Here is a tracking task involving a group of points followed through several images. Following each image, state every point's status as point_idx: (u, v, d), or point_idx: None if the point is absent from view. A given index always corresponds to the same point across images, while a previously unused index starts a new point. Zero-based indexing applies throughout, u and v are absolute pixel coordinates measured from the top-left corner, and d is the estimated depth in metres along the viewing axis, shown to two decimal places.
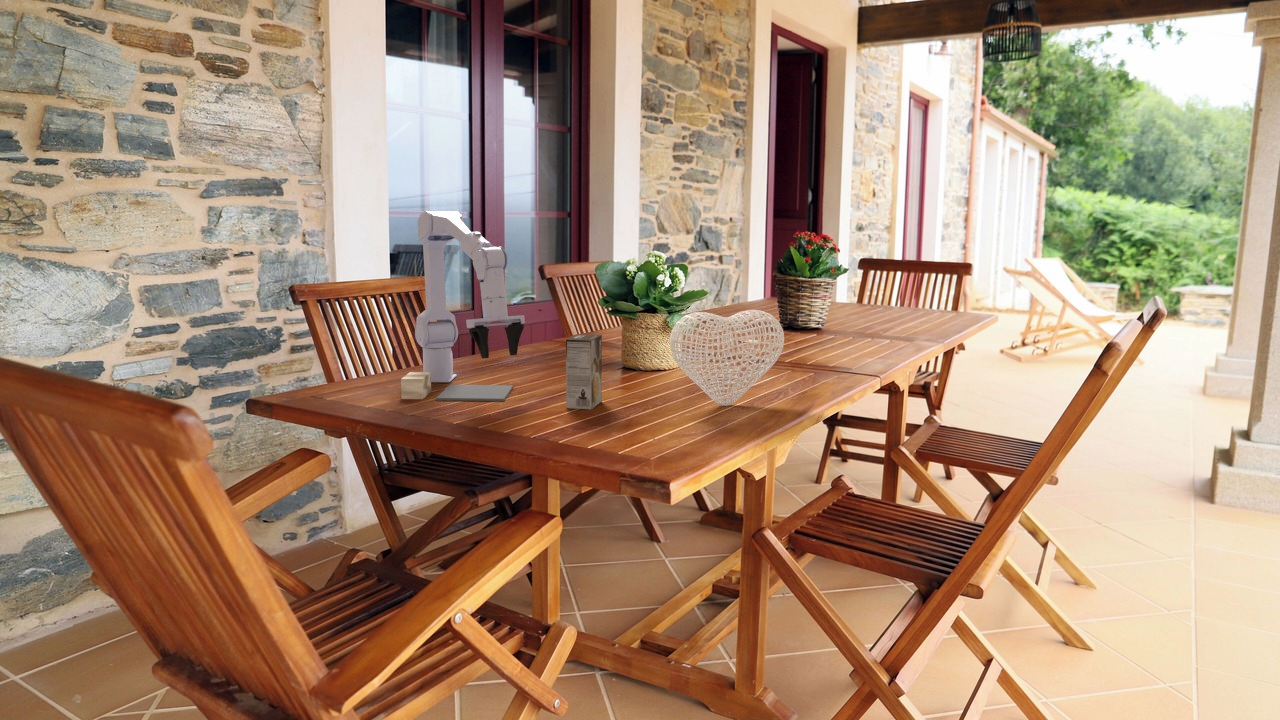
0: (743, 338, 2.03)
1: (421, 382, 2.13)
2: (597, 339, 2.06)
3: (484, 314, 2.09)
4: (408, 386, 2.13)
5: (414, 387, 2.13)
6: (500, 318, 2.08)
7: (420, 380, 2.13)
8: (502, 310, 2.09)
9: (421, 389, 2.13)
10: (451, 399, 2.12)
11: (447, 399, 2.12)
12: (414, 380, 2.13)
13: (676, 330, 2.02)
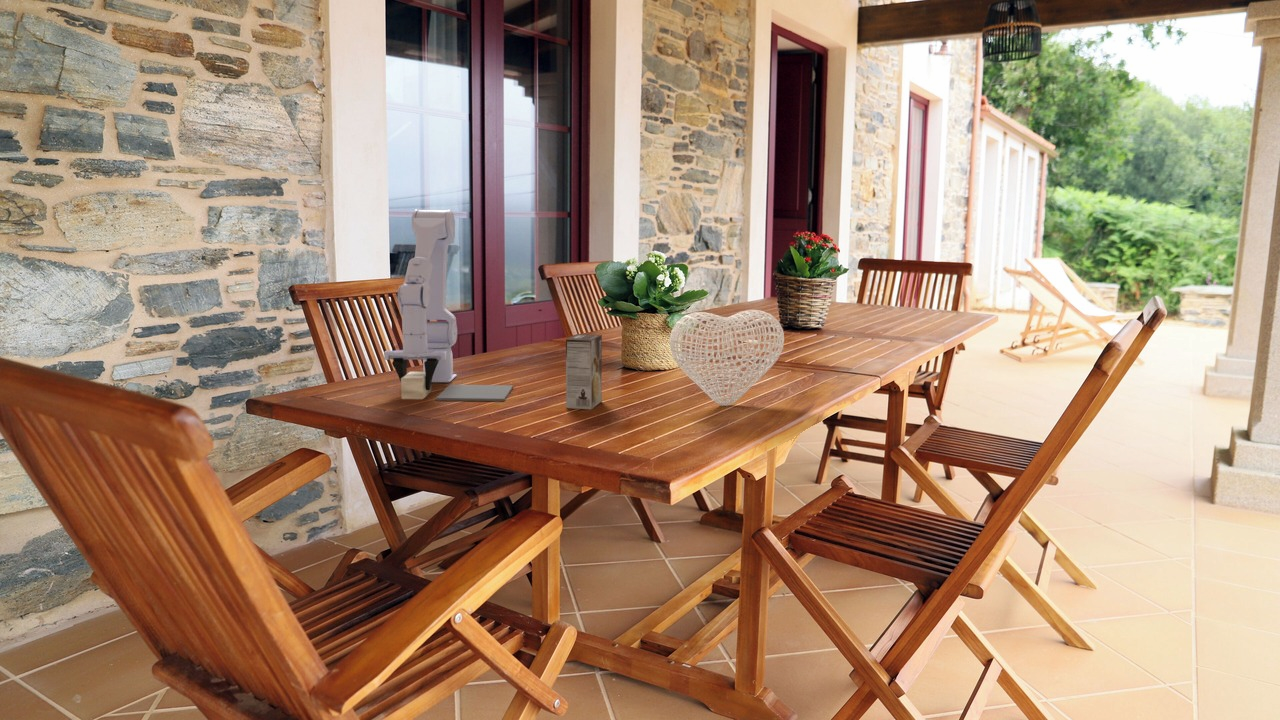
0: (743, 338, 2.03)
1: (421, 381, 2.13)
2: (597, 339, 2.06)
3: None
4: (408, 385, 2.13)
5: (414, 386, 2.13)
6: (407, 355, 2.13)
7: (420, 379, 2.13)
8: (414, 347, 2.13)
9: (421, 388, 2.13)
10: (451, 399, 2.12)
11: (447, 399, 2.12)
12: (414, 379, 2.13)
13: (676, 330, 2.02)
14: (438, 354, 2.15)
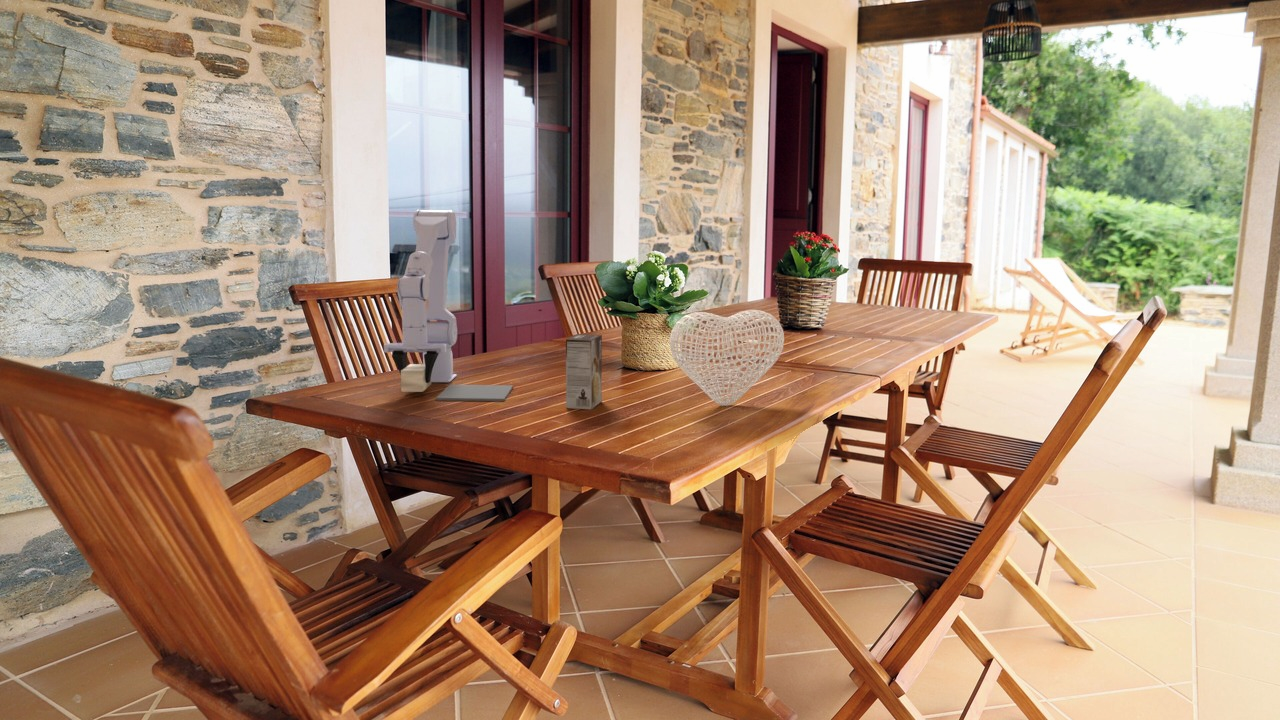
0: (743, 338, 2.03)
1: (421, 374, 2.13)
2: (597, 339, 2.06)
3: None
4: (408, 378, 2.13)
5: (414, 379, 2.13)
6: (407, 348, 2.13)
7: (420, 372, 2.13)
8: (413, 340, 2.13)
9: (421, 381, 2.13)
10: (451, 399, 2.12)
11: (447, 399, 2.12)
12: (414, 372, 2.13)
13: (676, 330, 2.02)
14: (438, 347, 2.15)
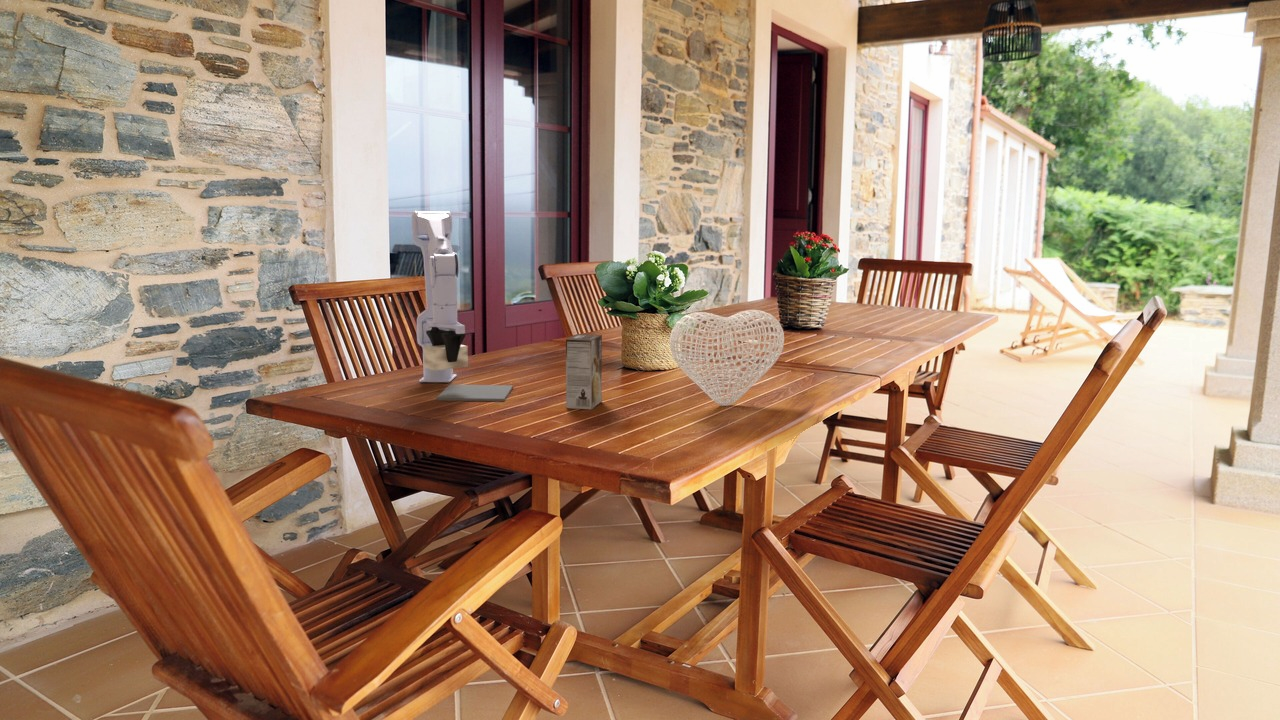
0: (743, 338, 2.03)
1: (434, 352, 2.13)
2: (597, 339, 2.06)
3: None
4: (427, 355, 2.15)
5: (430, 357, 2.14)
6: None
7: (433, 350, 2.13)
8: (435, 317, 2.14)
9: (434, 359, 2.13)
10: (451, 399, 2.12)
11: (447, 399, 2.12)
12: (430, 350, 2.14)
13: (676, 330, 2.02)
14: (453, 327, 2.11)
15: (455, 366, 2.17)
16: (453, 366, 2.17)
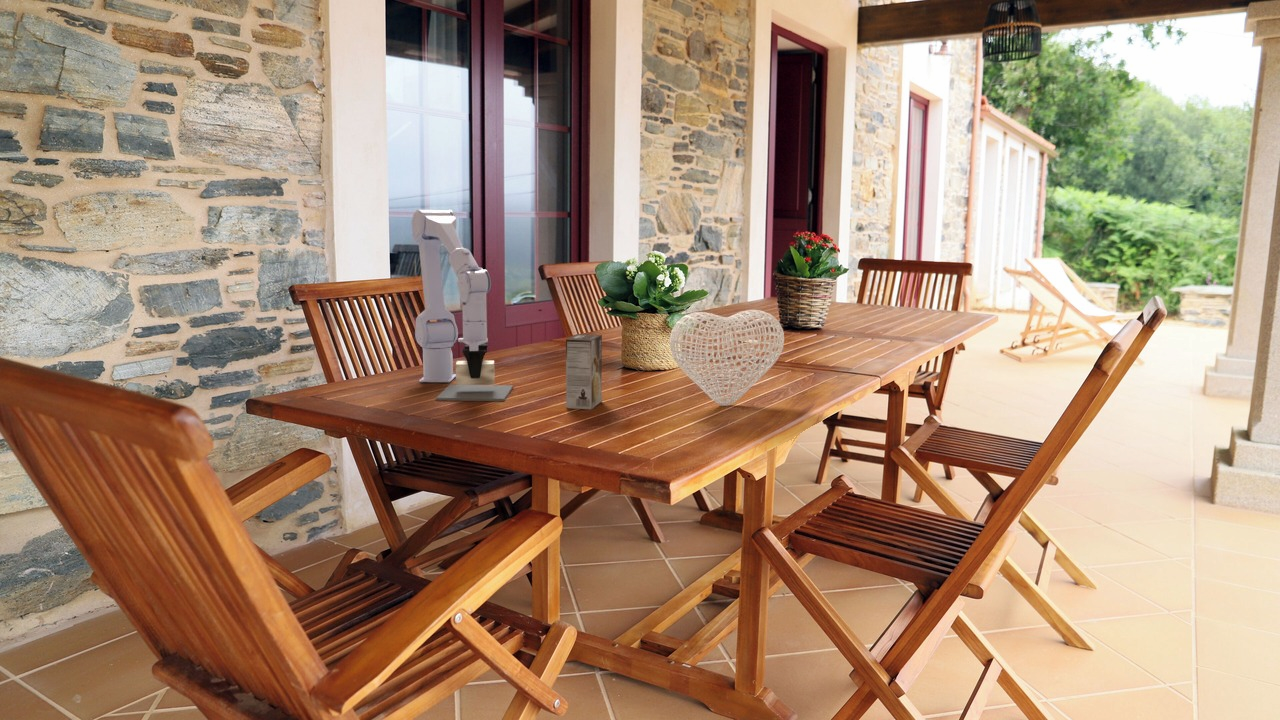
0: (743, 338, 2.03)
1: (456, 367, 2.16)
2: (597, 339, 2.06)
3: None
4: None
5: None
6: None
7: None
8: (463, 333, 2.17)
9: None
10: (451, 399, 2.12)
11: (447, 399, 2.12)
12: (456, 364, 2.18)
13: (676, 330, 2.02)
14: (468, 343, 2.12)
15: (479, 383, 2.17)
16: (477, 382, 2.17)
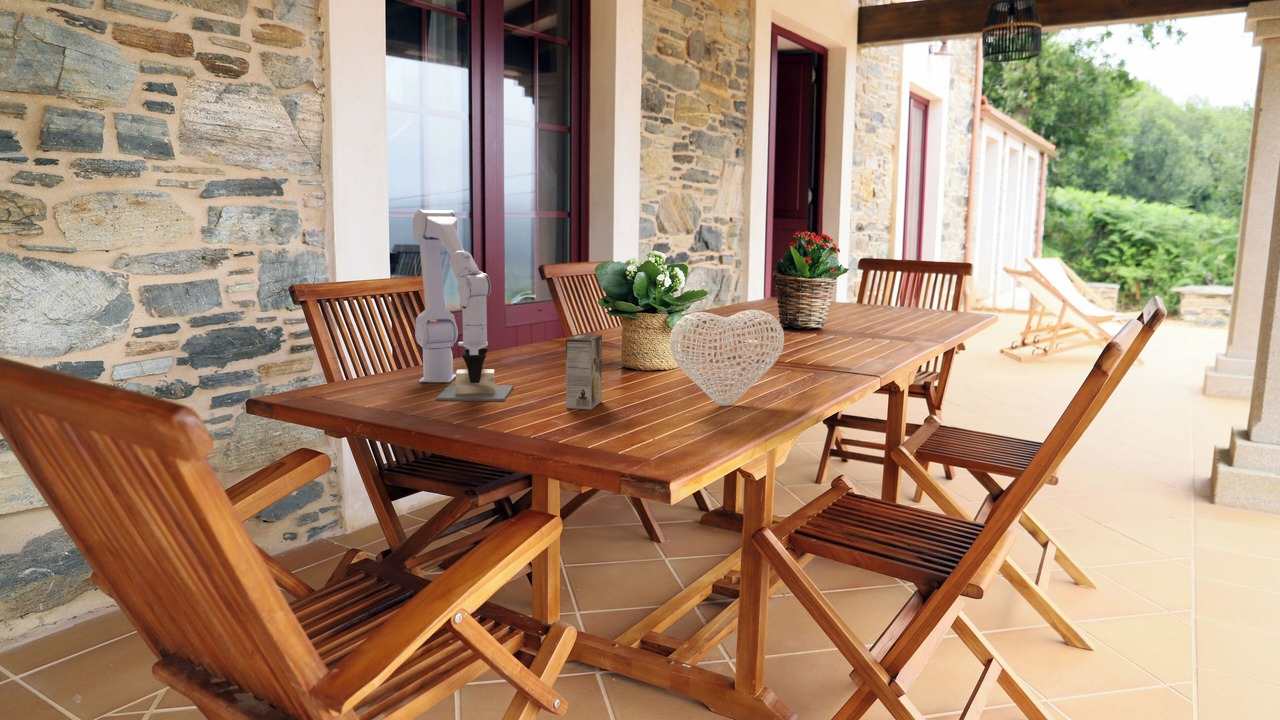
0: (743, 338, 2.03)
1: (456, 376, 2.17)
2: (597, 339, 2.06)
3: None
4: None
5: None
6: None
7: (456, 374, 2.17)
8: (463, 336, 2.17)
9: (456, 383, 2.17)
10: (451, 399, 2.12)
11: (447, 399, 2.12)
12: (456, 373, 2.18)
13: (676, 330, 2.02)
14: (469, 347, 2.12)
15: (479, 392, 2.18)
16: (477, 391, 2.18)
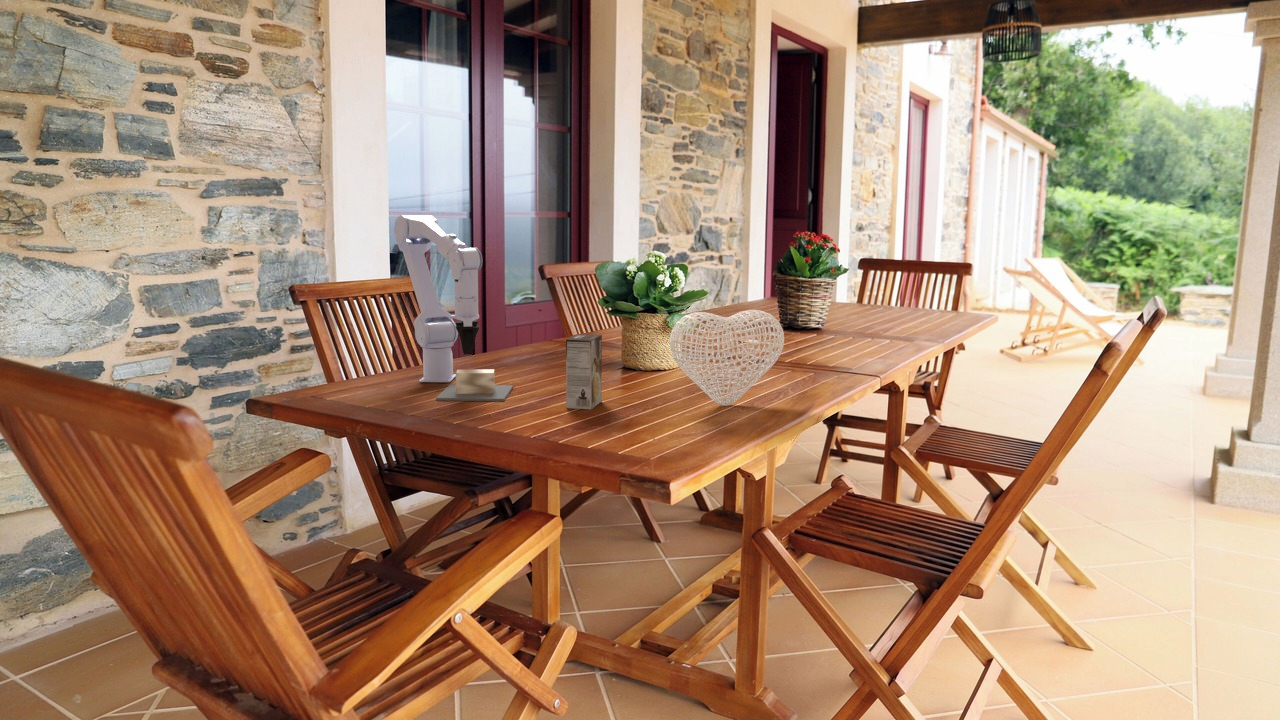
0: (743, 338, 2.03)
1: (456, 376, 2.17)
2: (597, 339, 2.06)
3: None
4: None
5: None
6: None
7: (456, 374, 2.17)
8: (455, 309, 2.22)
9: (456, 383, 2.17)
10: (451, 399, 2.12)
11: (447, 399, 2.12)
12: (456, 373, 2.18)
13: (676, 330, 2.02)
14: (462, 319, 2.17)
15: (479, 392, 2.18)
16: (477, 391, 2.18)
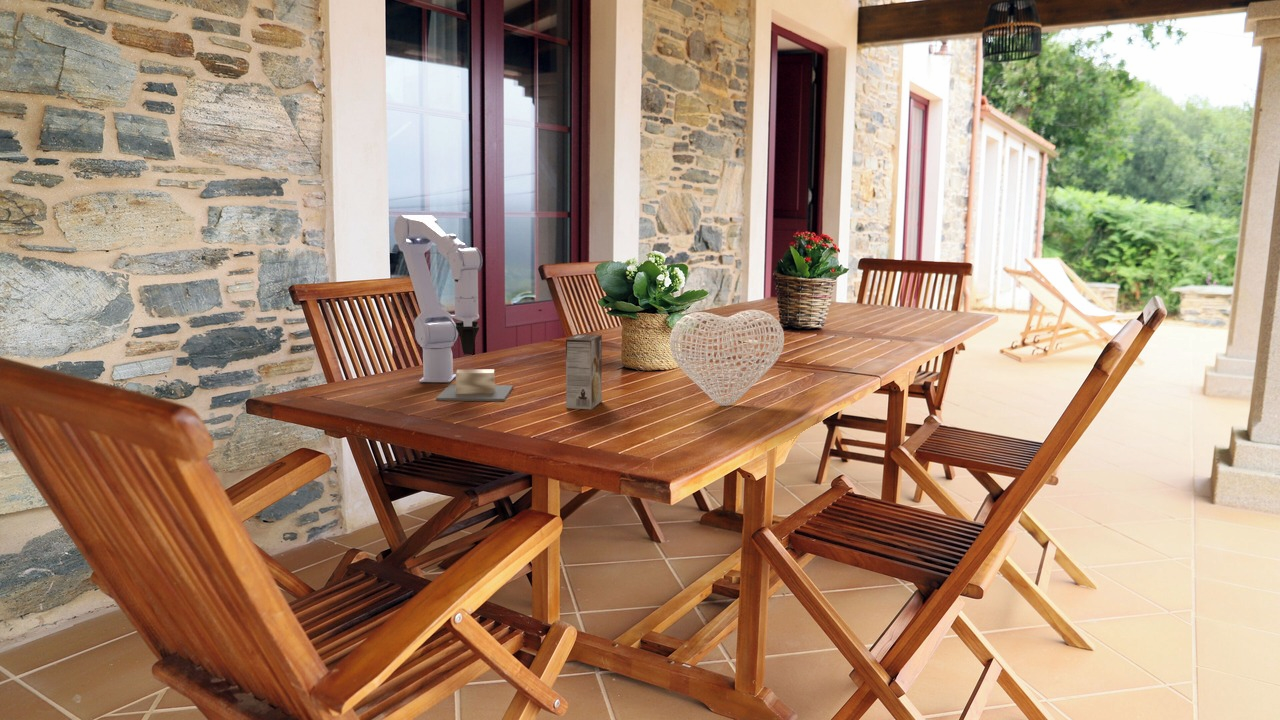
0: (743, 338, 2.03)
1: (456, 376, 2.17)
2: (597, 339, 2.06)
3: None
4: None
5: None
6: None
7: (456, 374, 2.17)
8: (455, 309, 2.22)
9: (456, 383, 2.17)
10: (451, 399, 2.12)
11: (447, 399, 2.12)
12: (456, 373, 2.18)
13: (676, 330, 2.02)
14: (462, 319, 2.17)
15: (479, 392, 2.18)
16: (477, 391, 2.18)
